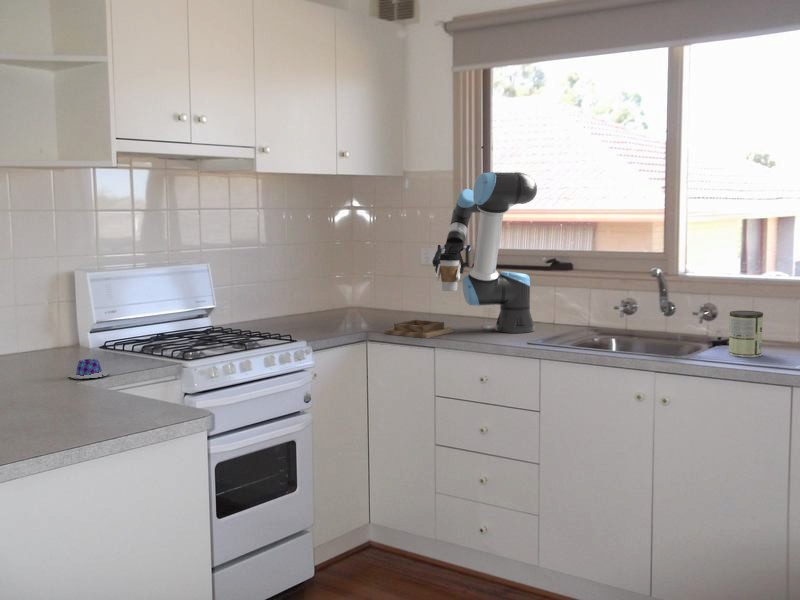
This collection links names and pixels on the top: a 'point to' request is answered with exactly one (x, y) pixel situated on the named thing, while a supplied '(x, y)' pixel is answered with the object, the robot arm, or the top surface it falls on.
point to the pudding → (88, 367)
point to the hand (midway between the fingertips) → (447, 278)
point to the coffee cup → (449, 270)
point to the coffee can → (745, 333)
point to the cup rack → (419, 329)
